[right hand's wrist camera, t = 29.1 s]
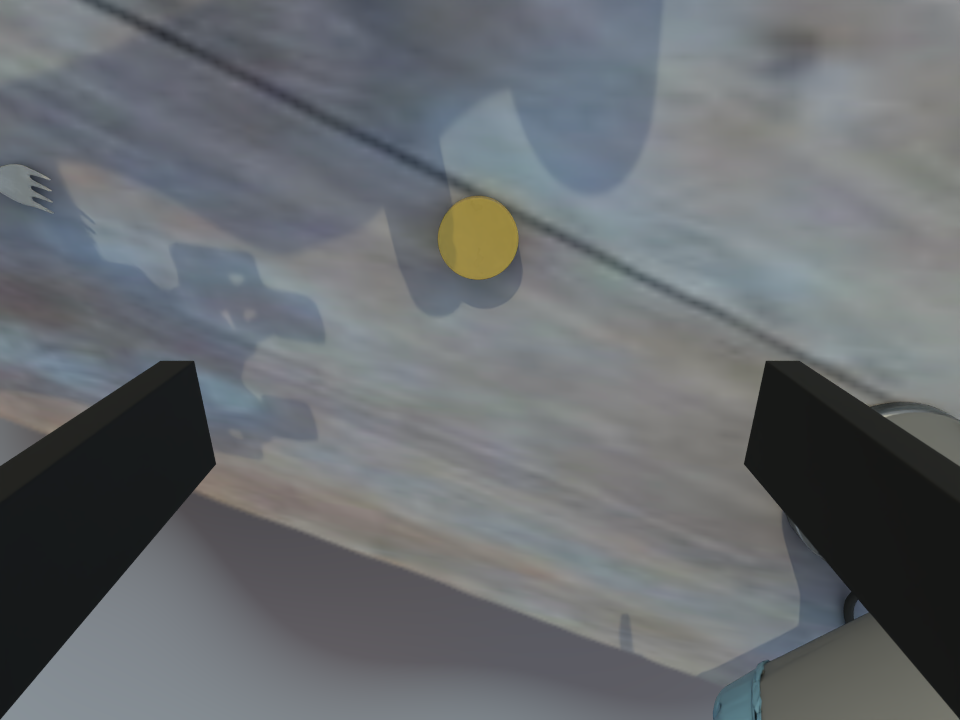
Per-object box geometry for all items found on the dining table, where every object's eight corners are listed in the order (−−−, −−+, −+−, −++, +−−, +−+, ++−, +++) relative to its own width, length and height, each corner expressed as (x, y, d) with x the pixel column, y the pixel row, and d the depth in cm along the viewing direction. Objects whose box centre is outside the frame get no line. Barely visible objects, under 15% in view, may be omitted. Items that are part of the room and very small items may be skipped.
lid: (454, 183, 36) (453, 185, 34) (528, 212, 37) (530, 215, 35) (429, 258, 38) (427, 263, 36) (500, 284, 38) (501, 290, 37)
